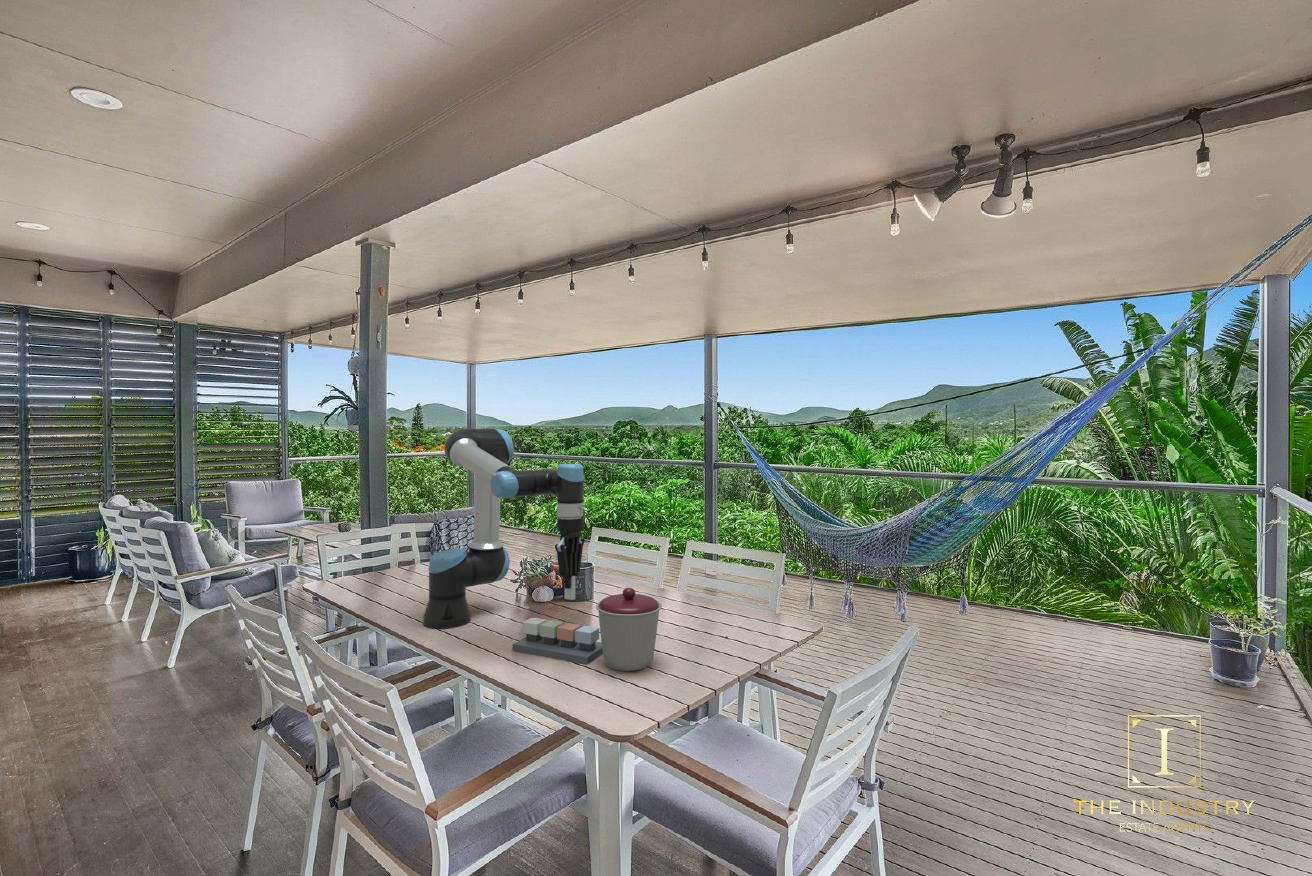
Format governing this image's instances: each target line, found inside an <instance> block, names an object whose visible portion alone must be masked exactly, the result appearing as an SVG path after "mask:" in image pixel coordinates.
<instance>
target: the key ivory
mask: <svg viewBox="0 0 1312 876" xmlns="http://www.w3.org/2000/svg"><path fill="white" fill-rule="evenodd" d="M546 621H547V619H543V618H538V617H531V618H528V619H527V620H524V621H522V634H525V635H526V634H531V635H538V634H540V625H541V624H543V623H545V622H546Z"/></svg>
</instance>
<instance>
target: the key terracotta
mask: <svg viewBox="0 0 1312 876" xmlns="http://www.w3.org/2000/svg"><path fill="white" fill-rule="evenodd" d="M581 627H582V624H577V623H571V622H570V623H569V622H565V623H564V624H563V625H562V626H560V627H558V628H557V639H561V640H567V641H574V640H575V631H576V630H577V629H579V628H581Z"/></svg>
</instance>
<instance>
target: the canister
mask: <svg viewBox="0 0 1312 876" xmlns="http://www.w3.org/2000/svg"><path fill="white" fill-rule="evenodd" d="M662 607H663V606H662V603H661V602H660V601H658V600H657V599H655V598H654V597H652V596H650V595H645V594H639V593H636V590H635V589H634V588H633V587H626V588H624V589H623V591H622V593H619V594H613V595H609V596H606V597H604V598H602V599H601V600H599V601H598V602H597V603H596V605H595V608H596V610H597V611H598V624H599V635H600V642H601V643H602V651H603V654H602V657H603V660H604V663H605V664H606V665H607V667H609V668H611V669H613V670H616V671H620V672H635V671H640V670H643V669H645V668H647V667H648V666H650V664H651V663H652V661H653V658H654V655H655V648H656V640H657V634H658V626H659V625H658V624H659V616H660V615H659V613H660V610H662Z"/></svg>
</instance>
